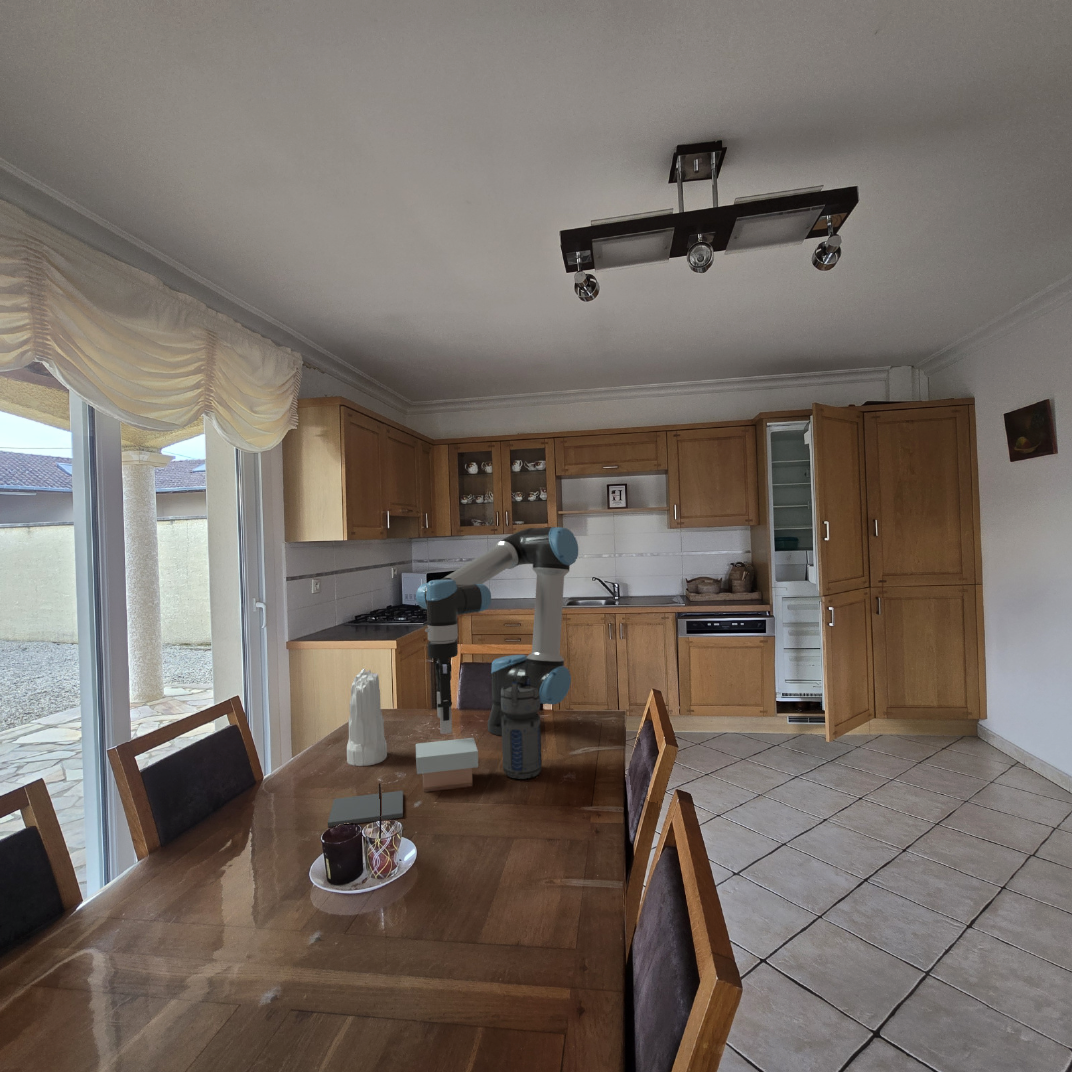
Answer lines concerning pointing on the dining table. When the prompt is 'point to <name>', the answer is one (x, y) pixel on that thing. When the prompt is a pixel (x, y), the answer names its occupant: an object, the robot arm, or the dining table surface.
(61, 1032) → the dining table surface
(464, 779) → the brown open box
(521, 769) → the beverage bottle
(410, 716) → the dining table surface
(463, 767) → the board
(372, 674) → the white ridged column
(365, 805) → the mat
